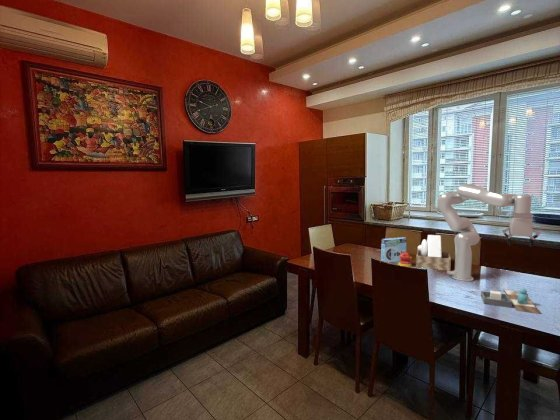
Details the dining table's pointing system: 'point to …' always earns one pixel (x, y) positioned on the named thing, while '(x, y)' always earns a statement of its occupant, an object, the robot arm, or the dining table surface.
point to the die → (495, 295)
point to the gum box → (392, 249)
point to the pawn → (522, 297)
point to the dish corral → (434, 261)
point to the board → (521, 307)
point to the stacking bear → (405, 260)
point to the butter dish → (431, 246)
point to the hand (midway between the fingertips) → (519, 245)
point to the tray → (503, 302)
